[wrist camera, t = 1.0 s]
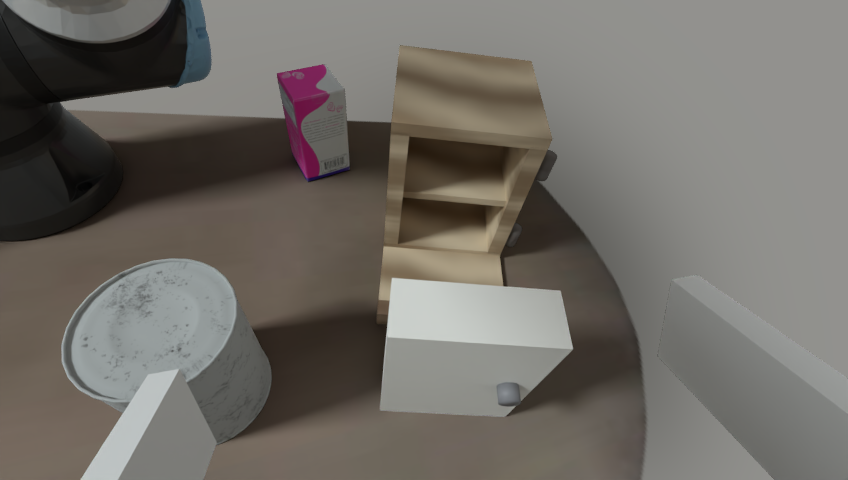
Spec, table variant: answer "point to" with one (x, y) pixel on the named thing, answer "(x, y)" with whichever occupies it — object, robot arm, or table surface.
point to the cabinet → (459, 166)
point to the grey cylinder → (170, 342)
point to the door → (469, 346)
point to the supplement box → (315, 120)
